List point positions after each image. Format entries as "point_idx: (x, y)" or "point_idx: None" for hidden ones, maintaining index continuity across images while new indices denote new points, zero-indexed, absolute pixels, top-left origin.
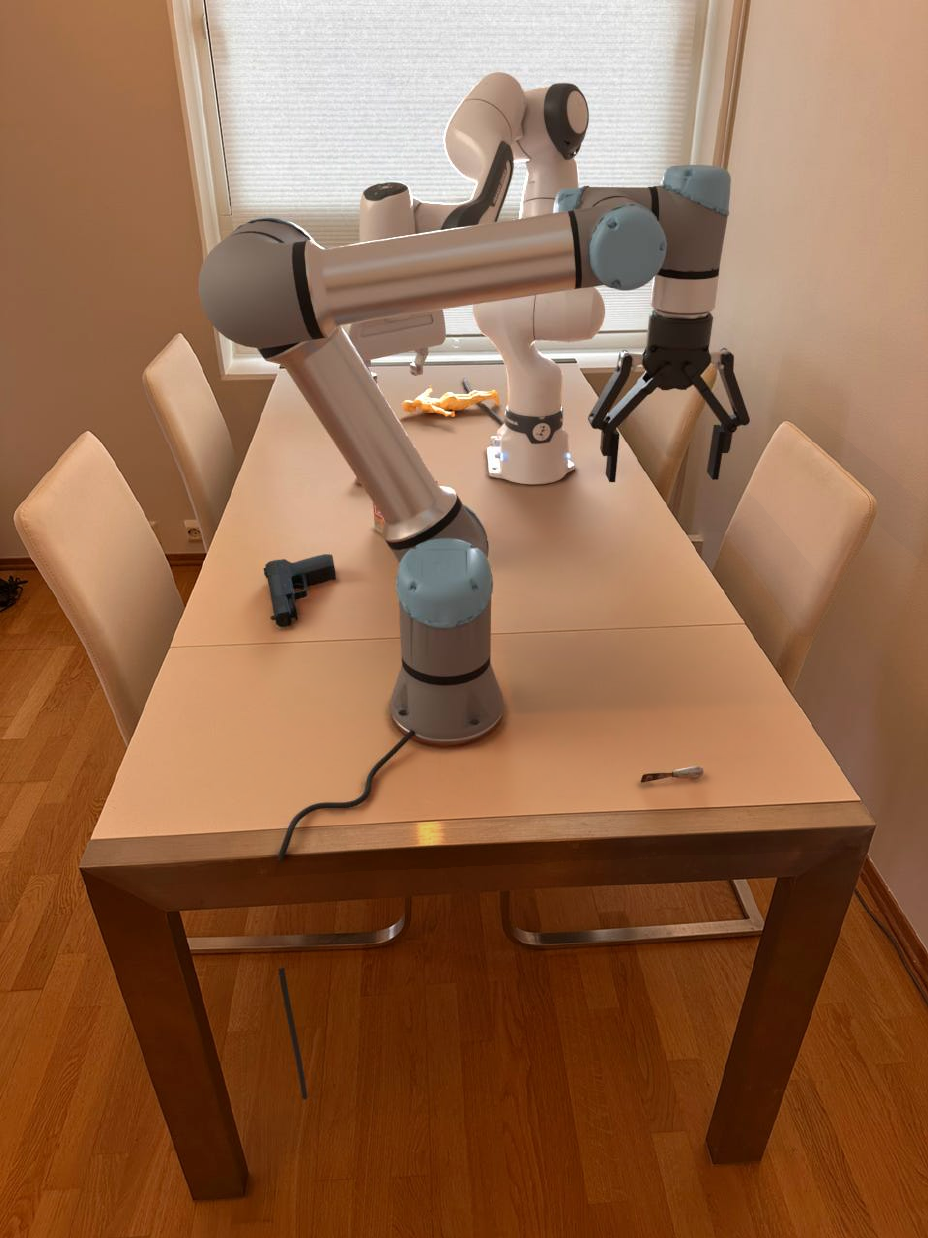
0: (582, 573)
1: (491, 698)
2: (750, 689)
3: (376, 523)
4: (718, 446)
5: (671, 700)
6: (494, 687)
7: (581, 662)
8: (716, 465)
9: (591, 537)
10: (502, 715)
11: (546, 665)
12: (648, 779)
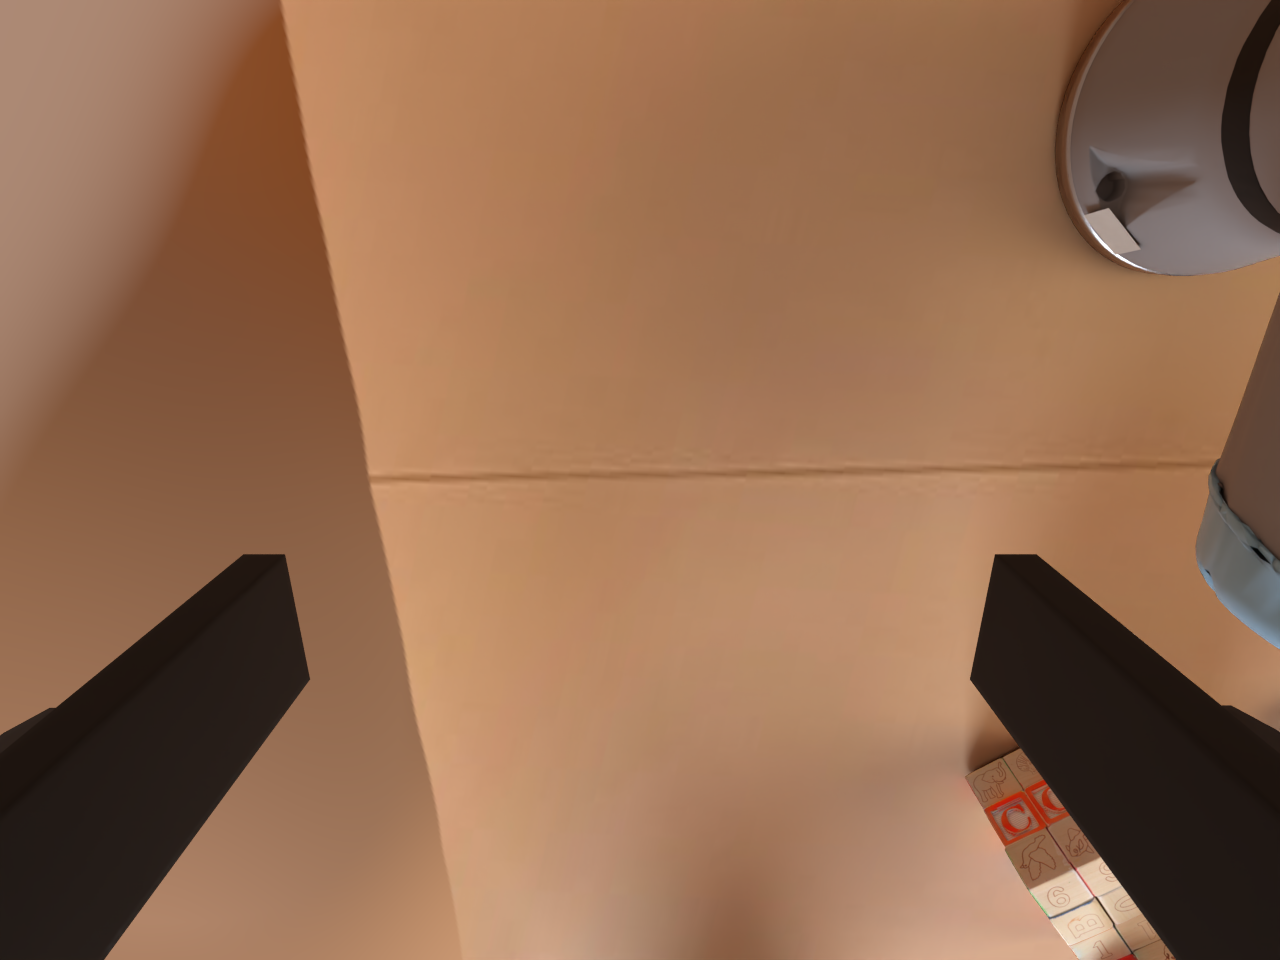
0: (703, 711)
1: (1179, 12)
2: (384, 179)
3: None
4: (85, 725)
5: (603, 139)
6: (1168, 49)
7: (797, 330)
8: (207, 610)
9: (647, 854)
10: (1075, 76)
11: (889, 322)
12: None
